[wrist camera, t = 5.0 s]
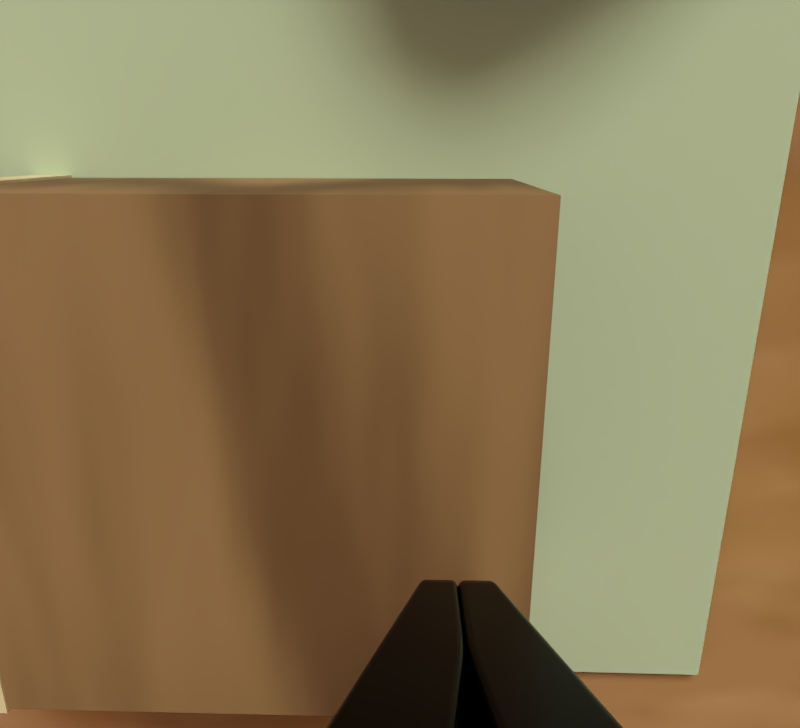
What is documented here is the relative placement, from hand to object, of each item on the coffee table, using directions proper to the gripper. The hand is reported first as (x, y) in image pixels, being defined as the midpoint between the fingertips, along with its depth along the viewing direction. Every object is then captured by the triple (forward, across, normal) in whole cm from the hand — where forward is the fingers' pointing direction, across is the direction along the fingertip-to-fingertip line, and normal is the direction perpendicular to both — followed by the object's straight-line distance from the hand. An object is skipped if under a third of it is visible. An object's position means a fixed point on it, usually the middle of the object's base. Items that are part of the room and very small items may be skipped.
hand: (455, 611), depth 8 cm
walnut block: (+5, -1, 0) cm, 5 cm away
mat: (+8, +2, 0) cm, 8 cm away
